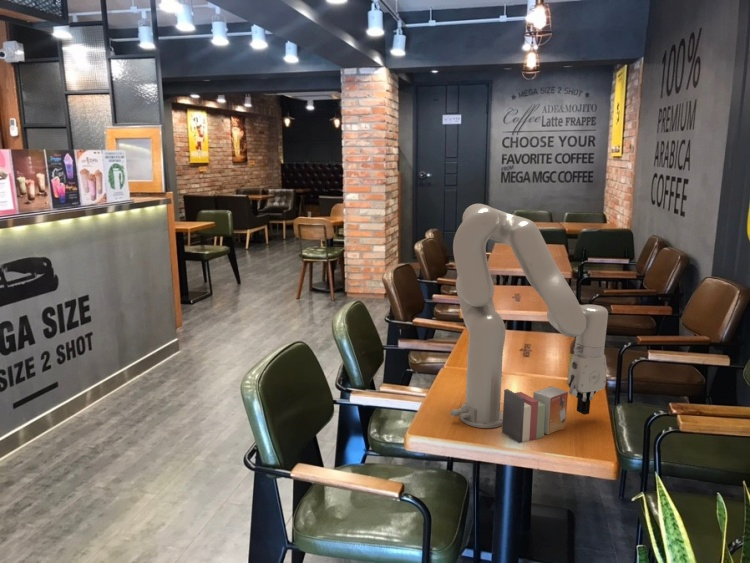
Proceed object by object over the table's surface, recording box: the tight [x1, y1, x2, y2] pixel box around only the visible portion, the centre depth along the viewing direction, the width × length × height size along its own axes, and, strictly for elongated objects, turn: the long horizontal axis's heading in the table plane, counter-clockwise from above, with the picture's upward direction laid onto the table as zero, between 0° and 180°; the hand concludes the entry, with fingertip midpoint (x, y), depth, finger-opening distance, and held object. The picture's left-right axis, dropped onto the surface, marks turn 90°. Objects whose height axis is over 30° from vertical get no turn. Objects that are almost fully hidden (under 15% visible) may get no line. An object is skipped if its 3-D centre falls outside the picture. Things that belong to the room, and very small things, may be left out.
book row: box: [501, 388, 545, 444], centre depth 153 cm, size 8×7×12 cm
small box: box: [532, 386, 569, 435], centre depth 158 cm, size 8×6×10 cm
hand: (582, 412), depth 163 cm, fingers closed
